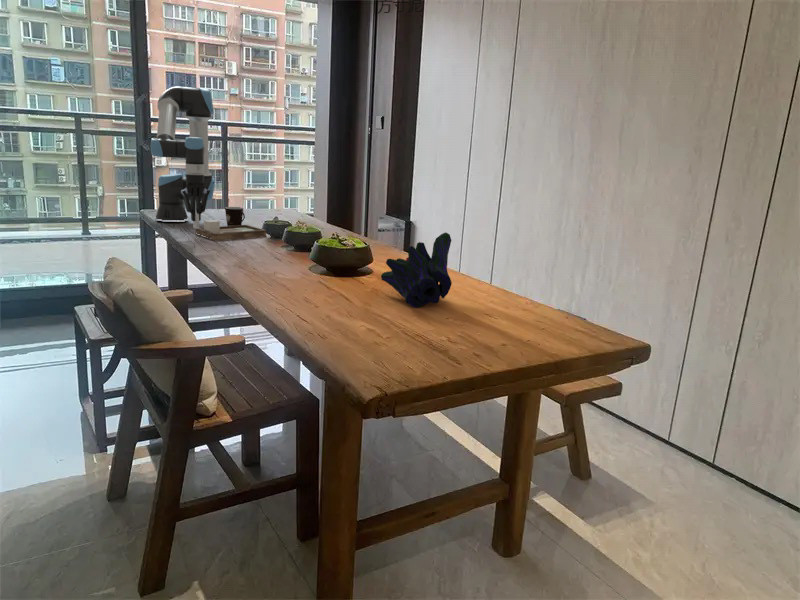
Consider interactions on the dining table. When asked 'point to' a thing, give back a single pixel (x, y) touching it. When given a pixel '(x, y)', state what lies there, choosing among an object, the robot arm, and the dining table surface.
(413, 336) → the dining table surface
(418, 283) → the dark blue branching piece
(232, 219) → the coffee mug
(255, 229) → the tray
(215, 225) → the block
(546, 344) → the dining table surface
